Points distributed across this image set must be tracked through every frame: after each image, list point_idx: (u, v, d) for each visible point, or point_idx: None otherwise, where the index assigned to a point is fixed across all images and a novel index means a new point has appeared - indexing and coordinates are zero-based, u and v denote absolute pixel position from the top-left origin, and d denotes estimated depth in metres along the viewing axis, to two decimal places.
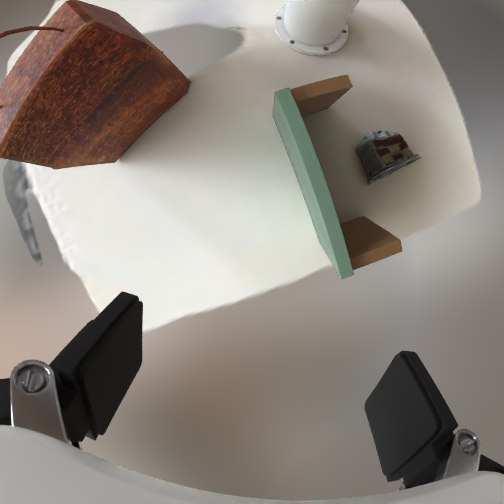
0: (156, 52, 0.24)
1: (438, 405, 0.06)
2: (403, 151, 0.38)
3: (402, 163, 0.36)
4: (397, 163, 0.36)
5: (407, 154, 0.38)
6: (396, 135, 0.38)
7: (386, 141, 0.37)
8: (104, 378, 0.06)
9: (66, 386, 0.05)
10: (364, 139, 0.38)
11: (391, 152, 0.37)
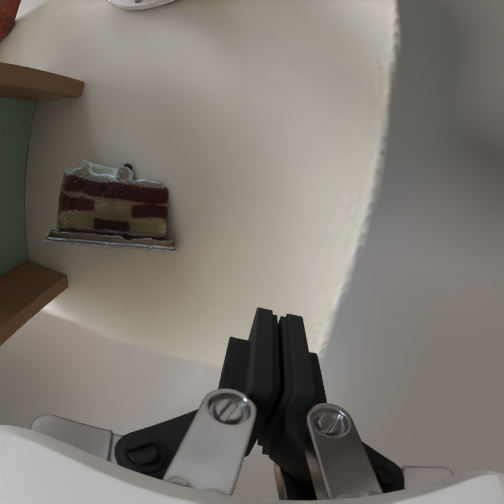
0: None
1: (297, 368, 0.07)
2: (139, 221, 0.21)
3: (92, 242, 0.18)
4: (83, 237, 0.18)
5: (145, 230, 0.21)
6: (146, 185, 0.20)
7: (101, 187, 0.19)
8: None
9: None
10: None
11: (98, 212, 0.19)
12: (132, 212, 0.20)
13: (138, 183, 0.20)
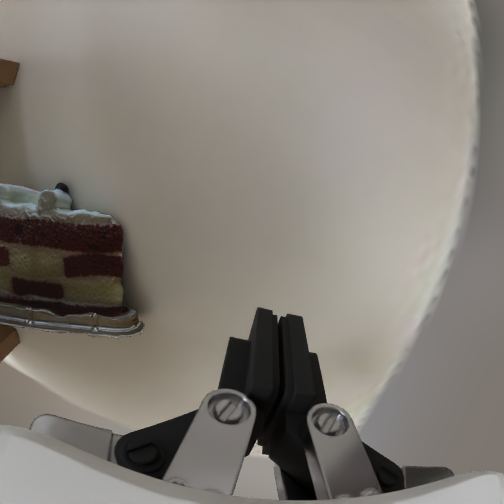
0: None
1: (297, 368, 0.07)
2: (77, 283, 0.11)
3: (10, 320, 0.09)
4: None
5: (89, 297, 0.11)
6: (85, 222, 0.11)
7: (16, 228, 0.09)
8: None
9: None
10: None
11: (15, 268, 0.09)
12: (65, 268, 0.11)
13: (71, 218, 0.11)
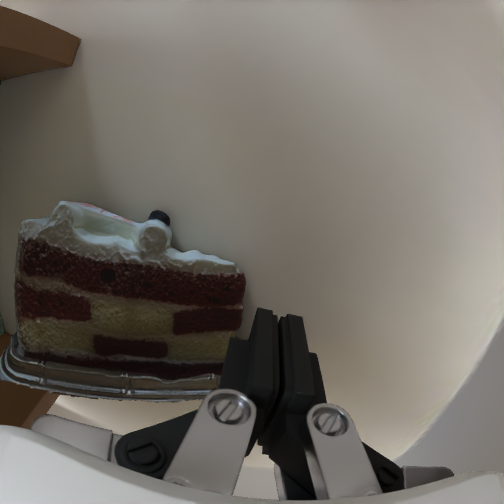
0: None
1: (297, 368, 0.07)
2: (189, 340, 0.10)
3: (98, 391, 0.08)
4: (75, 377, 0.08)
5: (200, 354, 0.11)
6: (206, 271, 0.10)
7: (104, 274, 0.08)
8: None
9: None
10: None
11: (100, 325, 0.09)
12: (174, 325, 0.10)
13: (188, 266, 0.10)
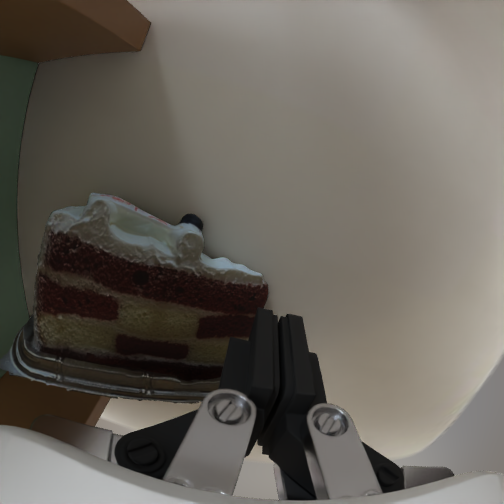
0: None
1: (297, 368, 0.07)
2: (209, 344, 0.11)
3: (118, 390, 0.08)
4: (95, 376, 0.08)
5: (217, 358, 0.11)
6: (236, 281, 0.11)
7: (137, 275, 0.09)
8: None
9: None
10: None
11: (126, 325, 0.09)
12: (198, 329, 0.10)
13: (220, 274, 0.10)
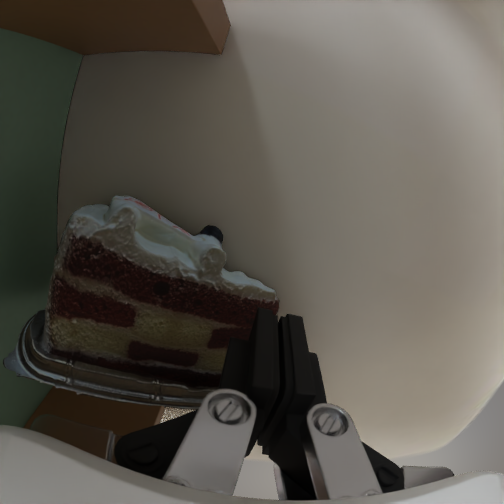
0: None
1: (297, 368, 0.07)
2: (218, 353, 0.11)
3: (128, 395, 0.08)
4: (106, 381, 0.08)
5: None
6: (252, 296, 0.11)
7: (158, 286, 0.09)
8: None
9: None
10: None
11: (141, 332, 0.09)
12: (210, 339, 0.11)
13: (238, 289, 0.10)
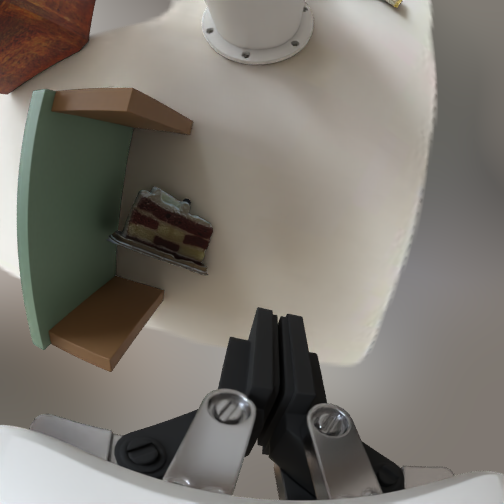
0: (16, 7, 0.09)
1: (297, 368, 0.07)
2: (187, 247, 0.29)
3: (151, 254, 0.26)
4: (144, 248, 0.26)
5: (189, 254, 0.30)
6: (200, 223, 0.29)
7: (167, 215, 0.27)
8: None
9: None
10: None
11: (159, 232, 0.27)
12: (184, 239, 0.29)
13: (194, 219, 0.29)
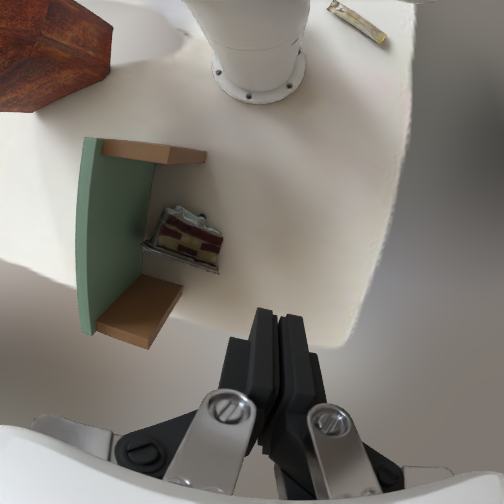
0: (48, 47, 0.17)
1: (297, 368, 0.07)
2: (203, 252, 0.38)
3: (176, 259, 0.35)
4: (171, 254, 0.35)
5: (205, 258, 0.38)
6: (213, 233, 0.38)
7: (188, 228, 0.36)
8: None
9: None
10: (175, 207, 0.36)
11: (182, 241, 0.36)
12: (201, 246, 0.37)
13: (209, 231, 0.37)
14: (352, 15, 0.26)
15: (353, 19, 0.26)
